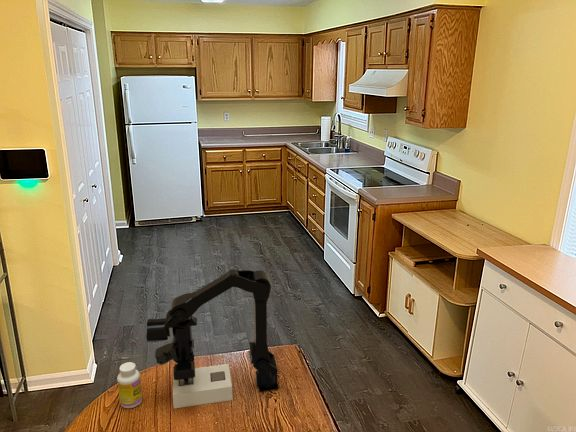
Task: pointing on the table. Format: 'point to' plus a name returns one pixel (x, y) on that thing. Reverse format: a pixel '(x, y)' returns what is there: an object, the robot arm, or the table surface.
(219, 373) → the peg
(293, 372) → the table surface
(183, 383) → the peg
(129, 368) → the supplement bottle
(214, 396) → the bore block
